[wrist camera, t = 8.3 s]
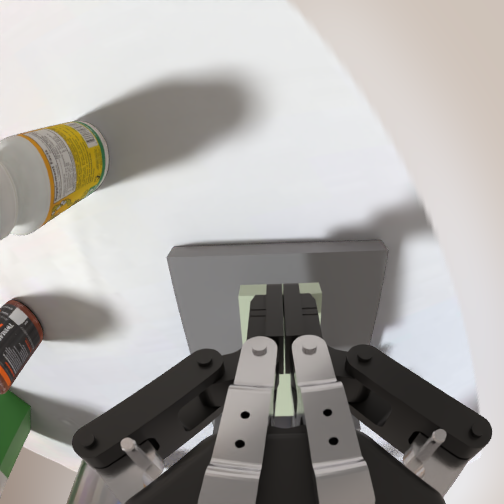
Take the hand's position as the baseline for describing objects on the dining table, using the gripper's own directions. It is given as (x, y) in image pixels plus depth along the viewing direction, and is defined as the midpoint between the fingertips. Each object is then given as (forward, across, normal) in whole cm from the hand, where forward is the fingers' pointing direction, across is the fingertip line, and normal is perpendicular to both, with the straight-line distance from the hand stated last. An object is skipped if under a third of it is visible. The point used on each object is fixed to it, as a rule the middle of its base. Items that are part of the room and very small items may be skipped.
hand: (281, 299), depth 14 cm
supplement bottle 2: (+6, +13, -7) cm, 16 cm away
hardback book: (+6, +51, +34) cm, 62 cm away
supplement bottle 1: (+6, +27, +8) cm, 29 cm away
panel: (+6, 0, +12) cm, 13 cm away
